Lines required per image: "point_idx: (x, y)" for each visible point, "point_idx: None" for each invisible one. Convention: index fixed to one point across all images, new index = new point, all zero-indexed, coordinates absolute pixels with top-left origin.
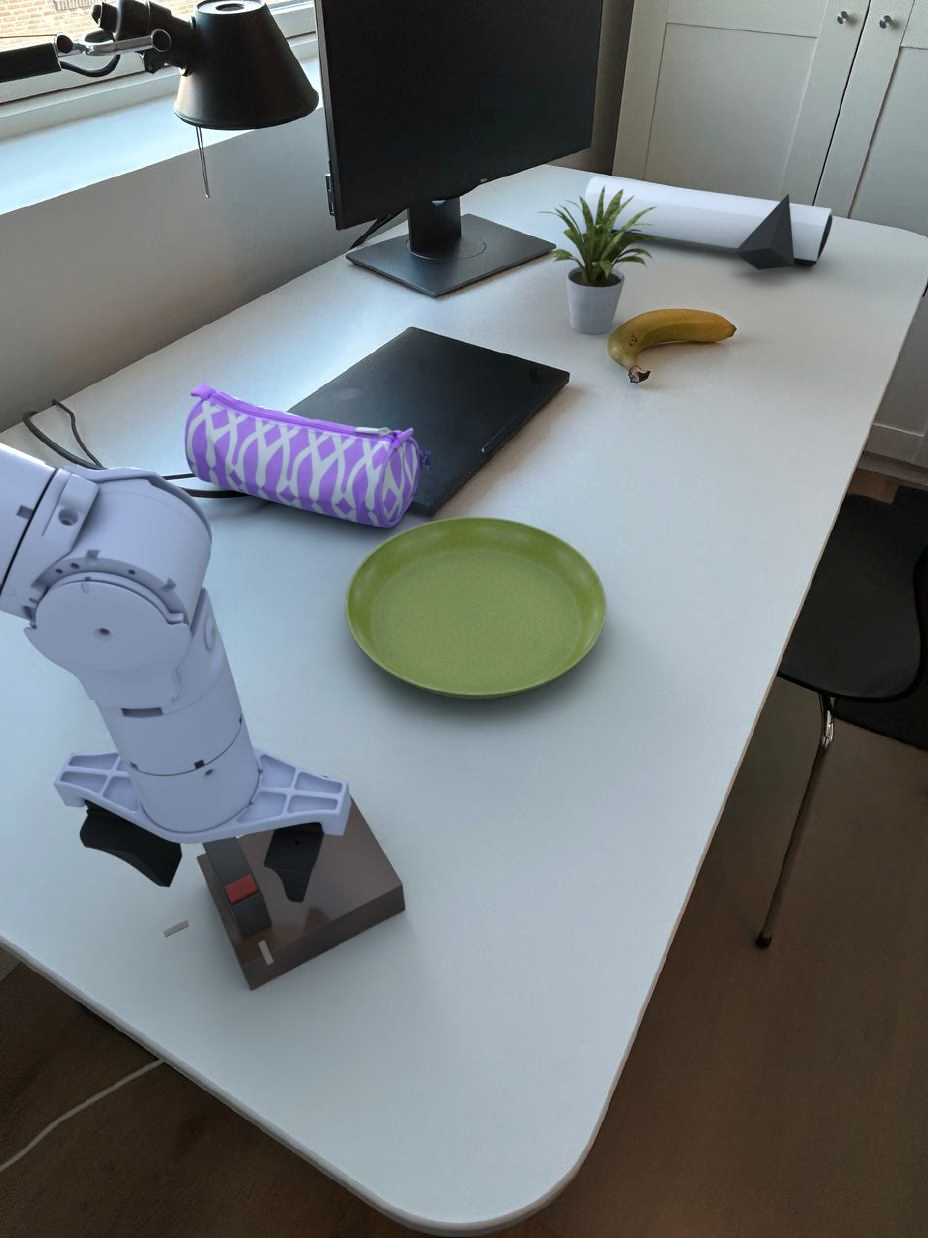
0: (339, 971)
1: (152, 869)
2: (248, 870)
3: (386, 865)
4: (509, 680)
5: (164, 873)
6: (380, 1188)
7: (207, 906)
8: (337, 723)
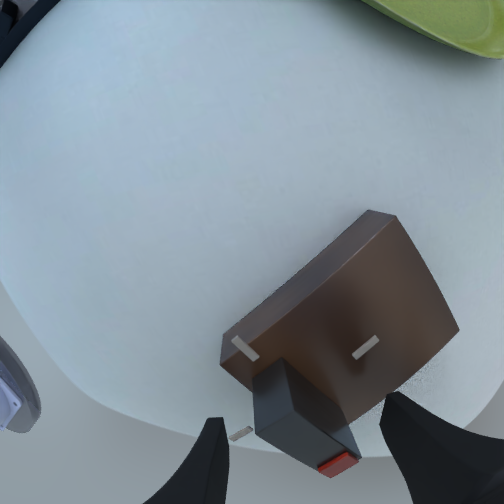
0: None
1: (225, 496)
2: (340, 447)
3: (448, 315)
4: (465, 26)
5: (227, 465)
6: None
7: None
8: (304, 66)
